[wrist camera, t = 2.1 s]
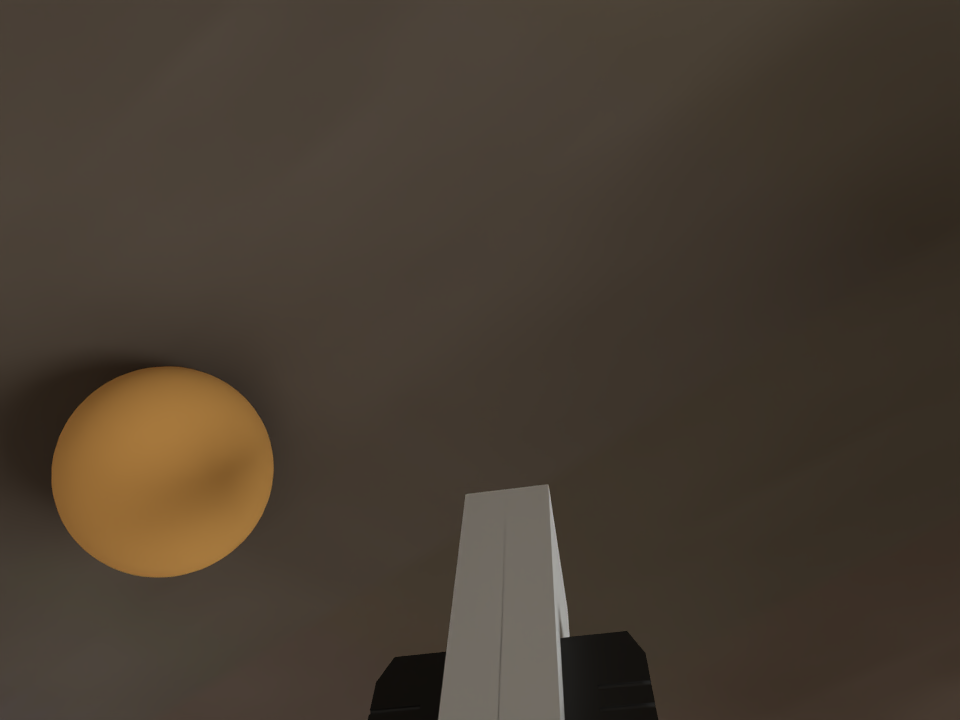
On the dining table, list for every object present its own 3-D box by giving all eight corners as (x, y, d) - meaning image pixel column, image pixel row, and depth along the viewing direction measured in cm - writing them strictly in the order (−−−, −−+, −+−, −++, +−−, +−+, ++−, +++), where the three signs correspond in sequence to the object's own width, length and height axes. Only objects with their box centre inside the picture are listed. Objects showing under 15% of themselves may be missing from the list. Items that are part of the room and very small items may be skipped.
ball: (313, 498, 27) (263, 609, 22) (140, 519, 27) (50, 632, 22) (270, 325, 25) (203, 402, 20) (84, 351, 26) (-27, 433, 20)
